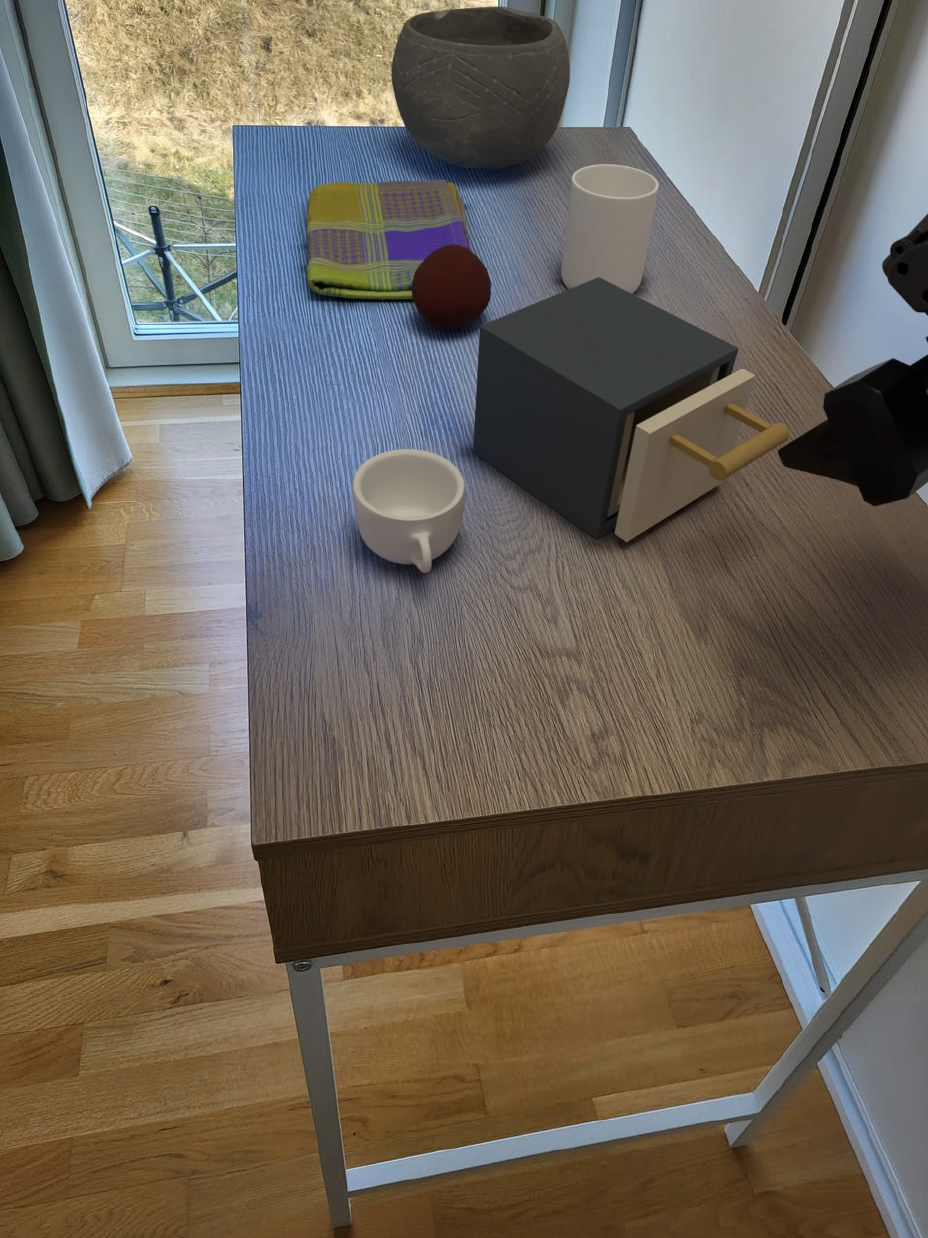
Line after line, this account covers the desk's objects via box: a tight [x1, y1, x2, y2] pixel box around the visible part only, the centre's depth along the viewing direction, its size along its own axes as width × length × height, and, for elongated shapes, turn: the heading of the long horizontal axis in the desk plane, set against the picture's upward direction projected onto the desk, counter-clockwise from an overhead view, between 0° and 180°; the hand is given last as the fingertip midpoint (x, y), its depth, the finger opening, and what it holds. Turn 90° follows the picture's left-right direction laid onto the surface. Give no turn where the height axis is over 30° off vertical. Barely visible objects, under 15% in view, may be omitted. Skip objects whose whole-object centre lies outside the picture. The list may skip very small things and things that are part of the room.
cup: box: [560, 163, 660, 294], centre depth 95 cm, size 8×12×10 cm
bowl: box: [390, 5, 571, 170], centre depth 114 cm, size 21×21×15 cm
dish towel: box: [306, 179, 471, 300], centre depth 100 cm, size 18×24×3 cm
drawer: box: [607, 367, 791, 543], centre depth 69 cm, size 17×11×9 cm, turn 41°
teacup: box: [351, 448, 466, 574], centre depth 65 cm, size 10×8×5 cm
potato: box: [411, 244, 492, 330], centre depth 88 cm, size 7×8×7 cm
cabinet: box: [472, 277, 739, 540], centre depth 72 cm, size 14×13×11 cm
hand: (825, 429), depth 57 cm, fingers open, 9 cm apart
